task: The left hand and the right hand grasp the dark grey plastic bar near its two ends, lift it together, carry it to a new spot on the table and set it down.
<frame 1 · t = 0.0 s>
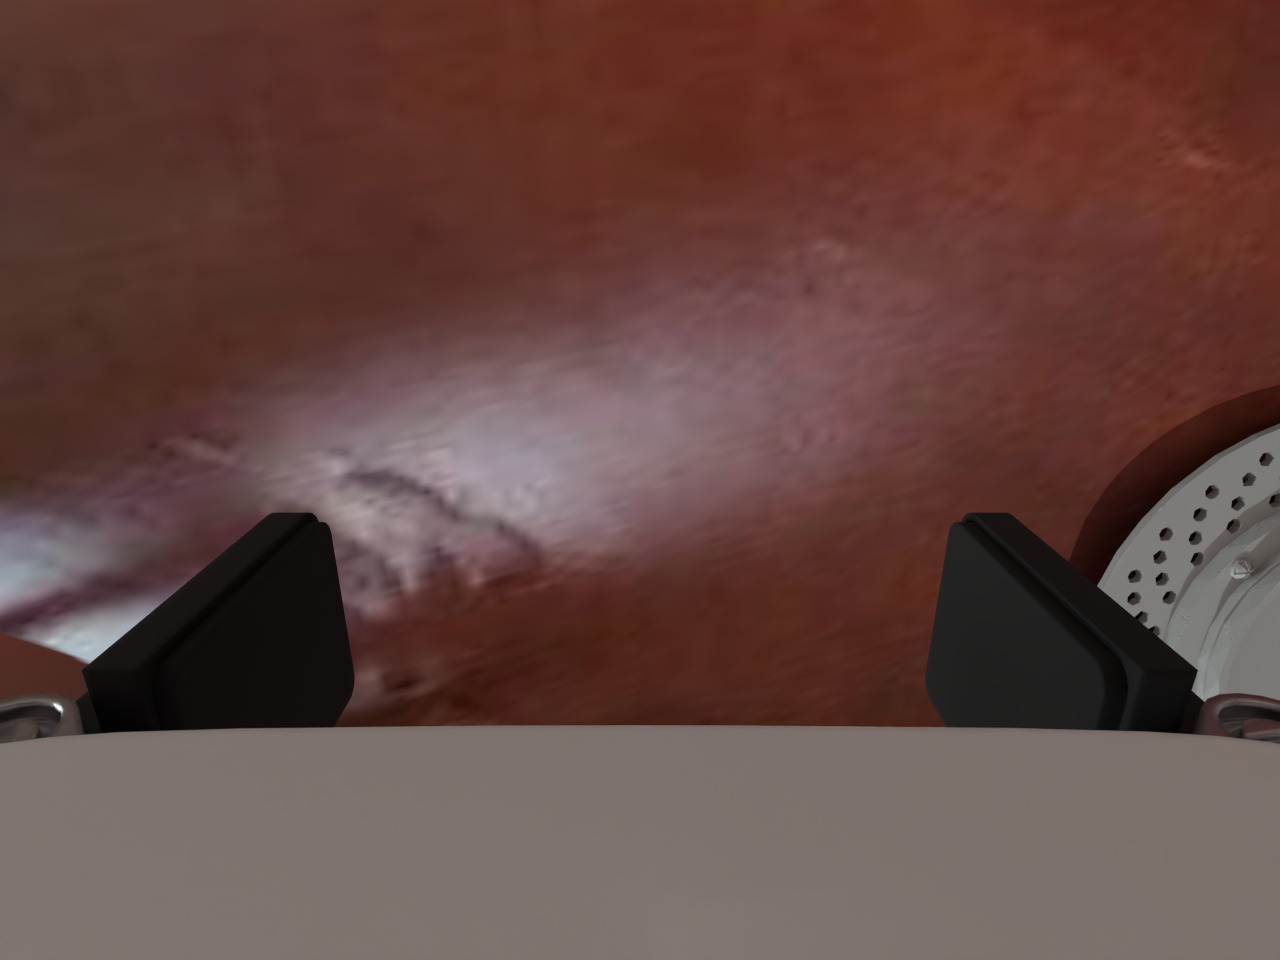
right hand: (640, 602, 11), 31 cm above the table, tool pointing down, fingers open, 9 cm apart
brake disc: (1266, 640, 48), on the table
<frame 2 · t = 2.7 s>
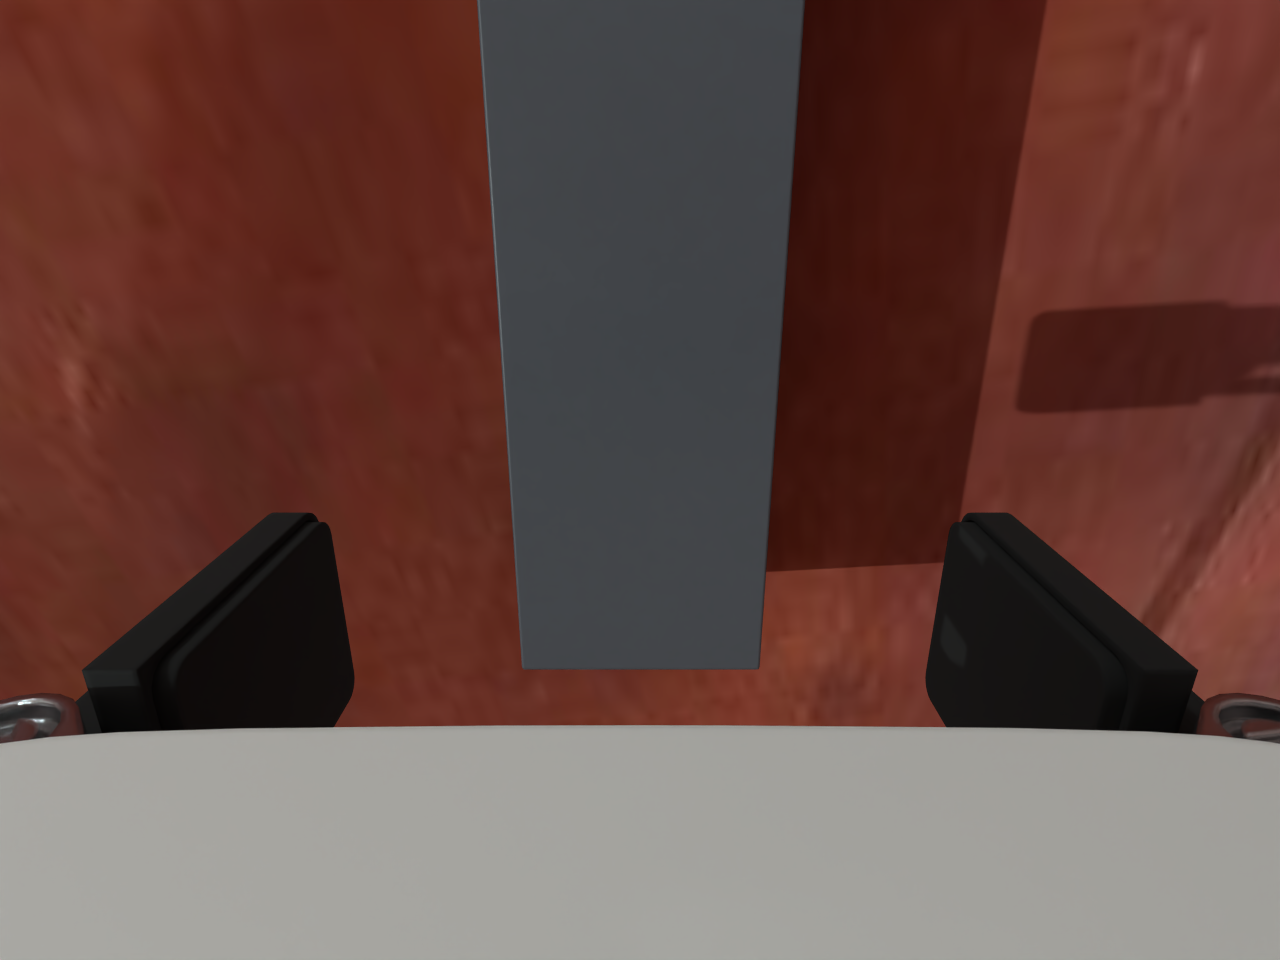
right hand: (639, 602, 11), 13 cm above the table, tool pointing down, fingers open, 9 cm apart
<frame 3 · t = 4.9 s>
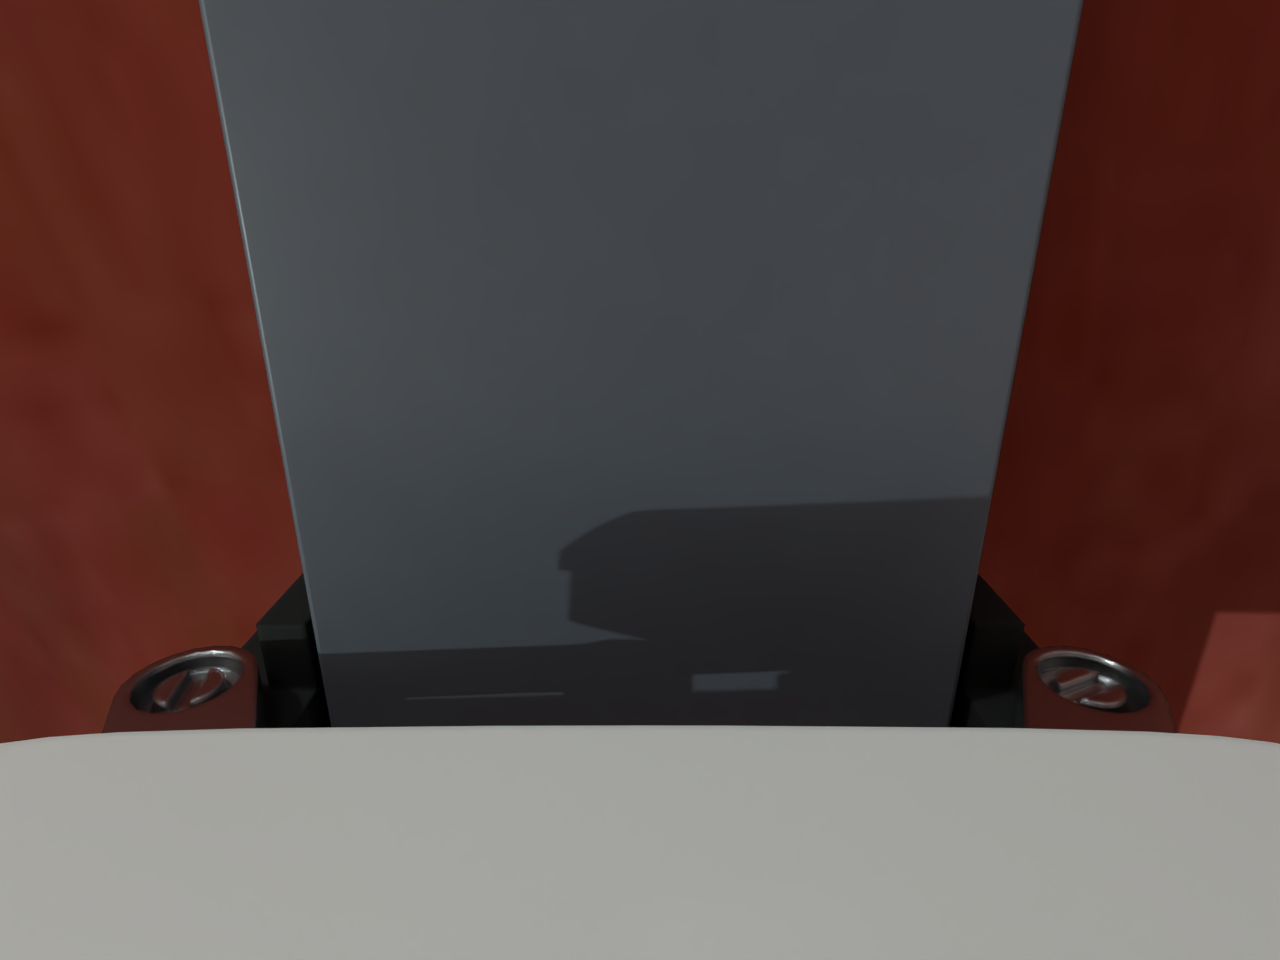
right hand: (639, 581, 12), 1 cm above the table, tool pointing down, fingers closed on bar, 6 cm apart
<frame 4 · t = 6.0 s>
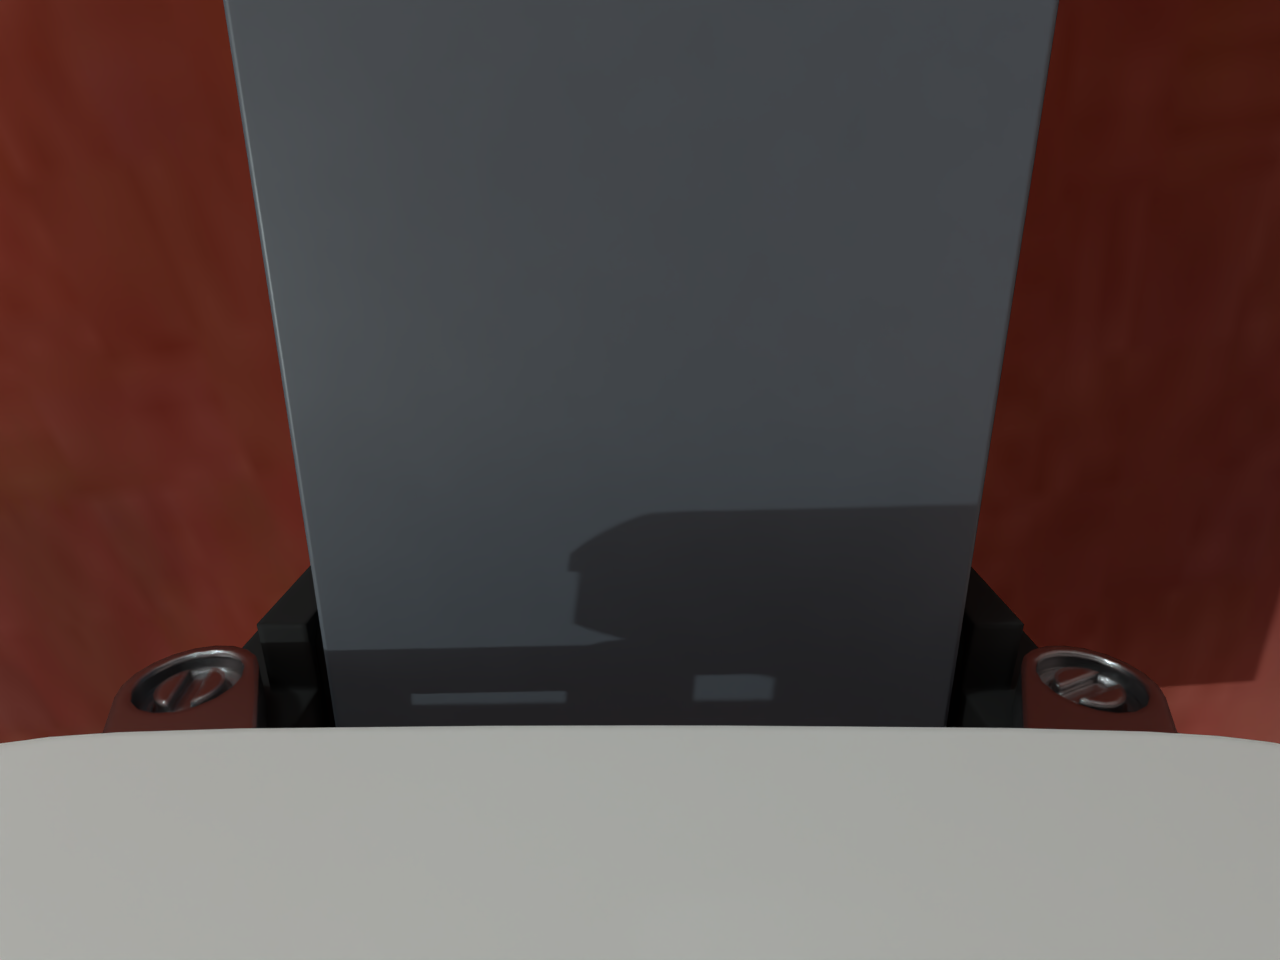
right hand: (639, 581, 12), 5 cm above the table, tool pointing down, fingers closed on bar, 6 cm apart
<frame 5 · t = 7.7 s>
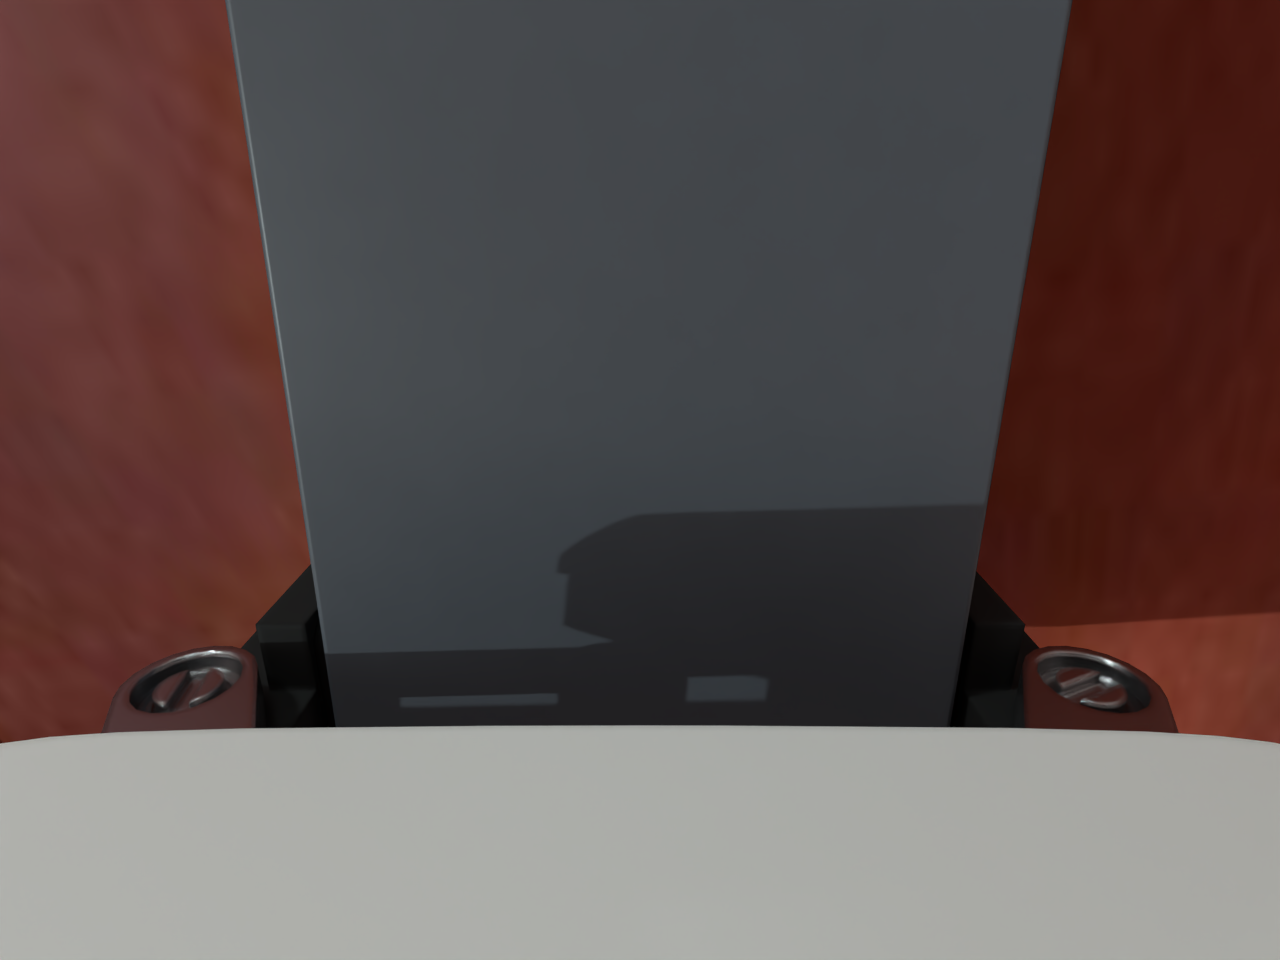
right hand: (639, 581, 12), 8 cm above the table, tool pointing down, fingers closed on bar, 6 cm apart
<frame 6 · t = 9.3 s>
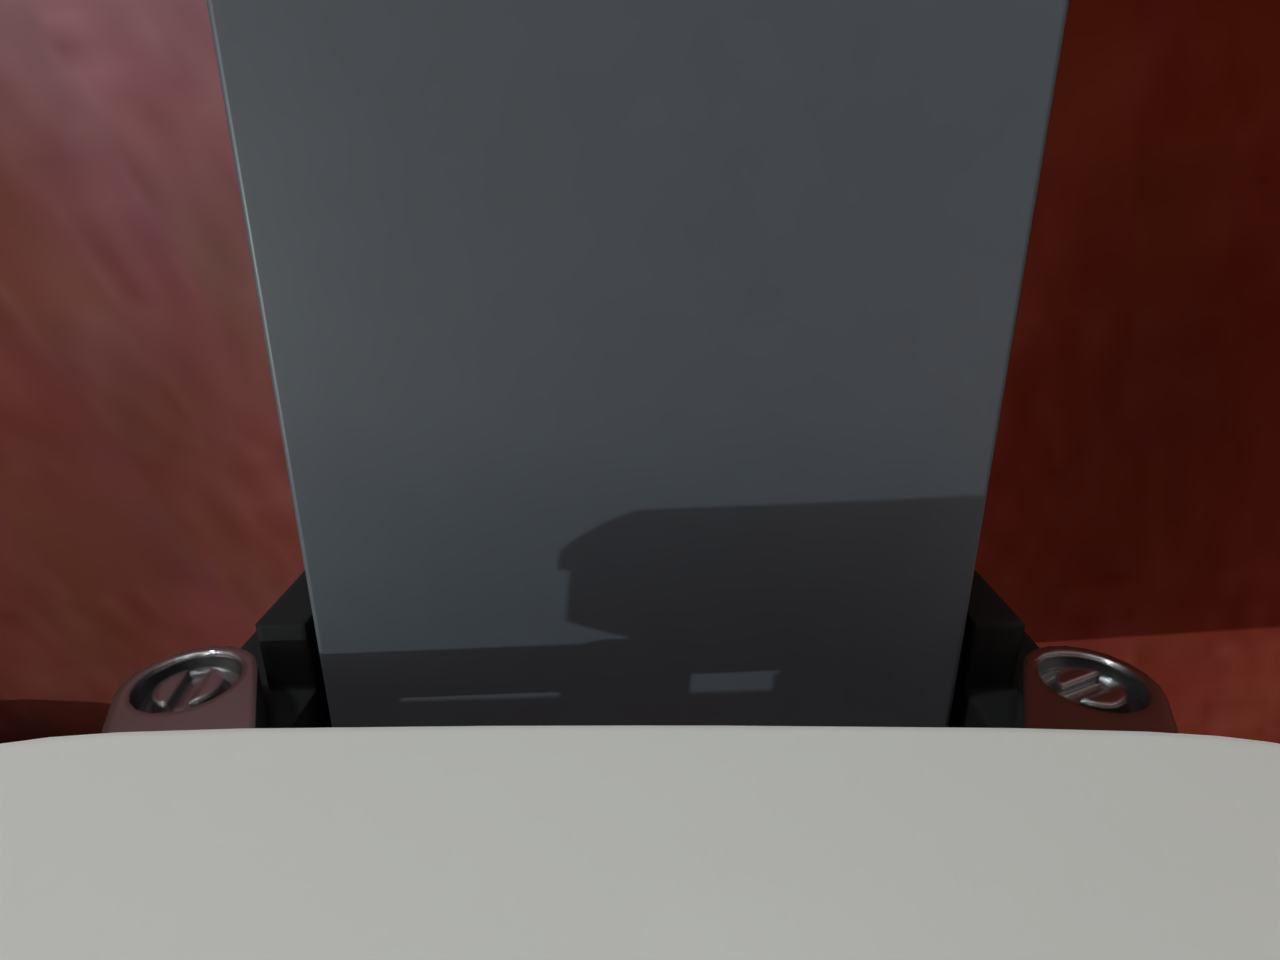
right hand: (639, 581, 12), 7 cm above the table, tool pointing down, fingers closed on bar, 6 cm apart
when the left hand's fingers open (0 cm above the table, at t = 10.2 s): bar stays where it is, on the table.
when the right hand's fingers open (2 cm above the table, at t = 10.4 s): bar stays where it is, on the table.
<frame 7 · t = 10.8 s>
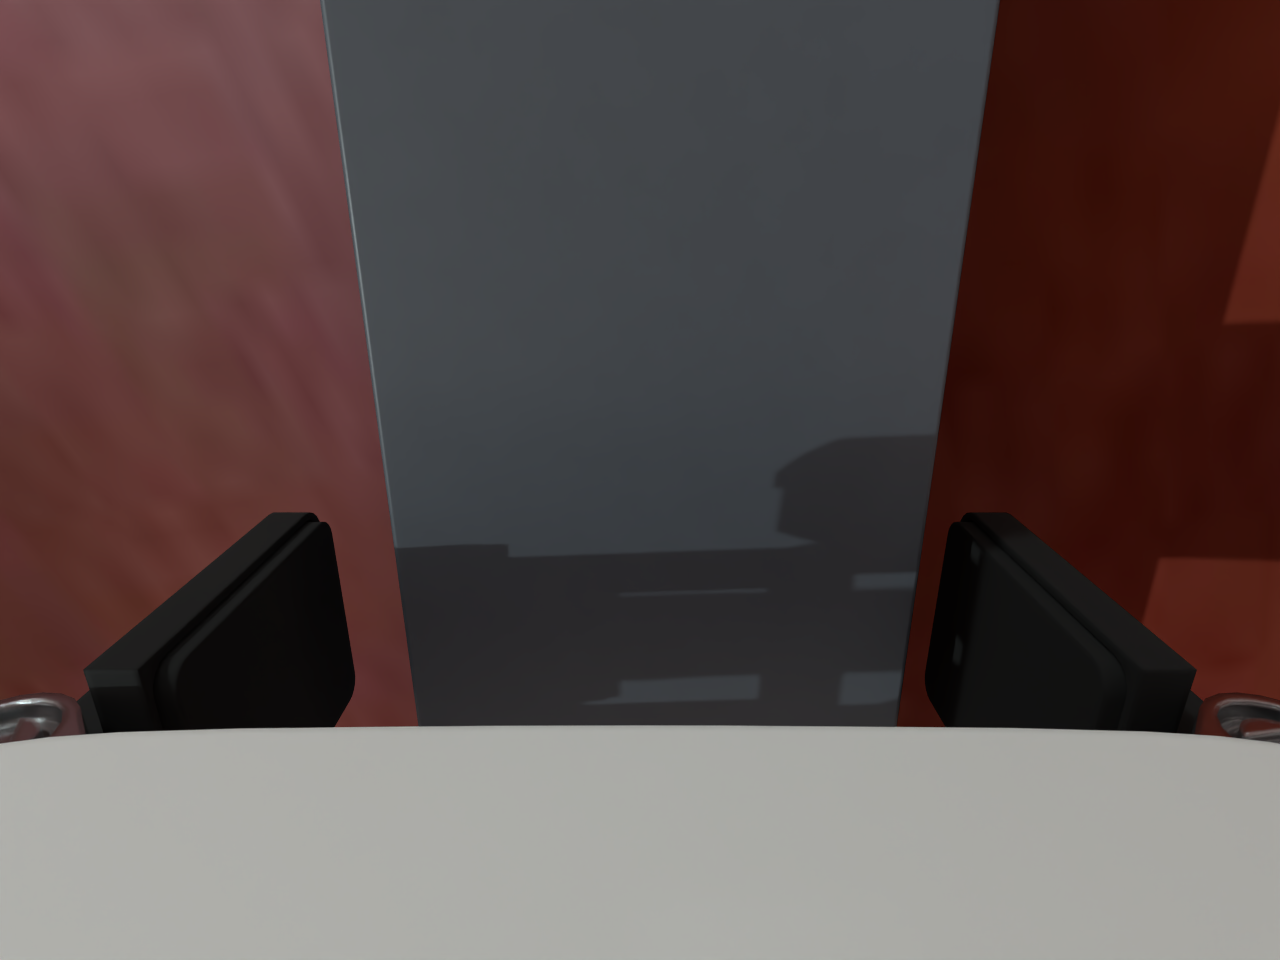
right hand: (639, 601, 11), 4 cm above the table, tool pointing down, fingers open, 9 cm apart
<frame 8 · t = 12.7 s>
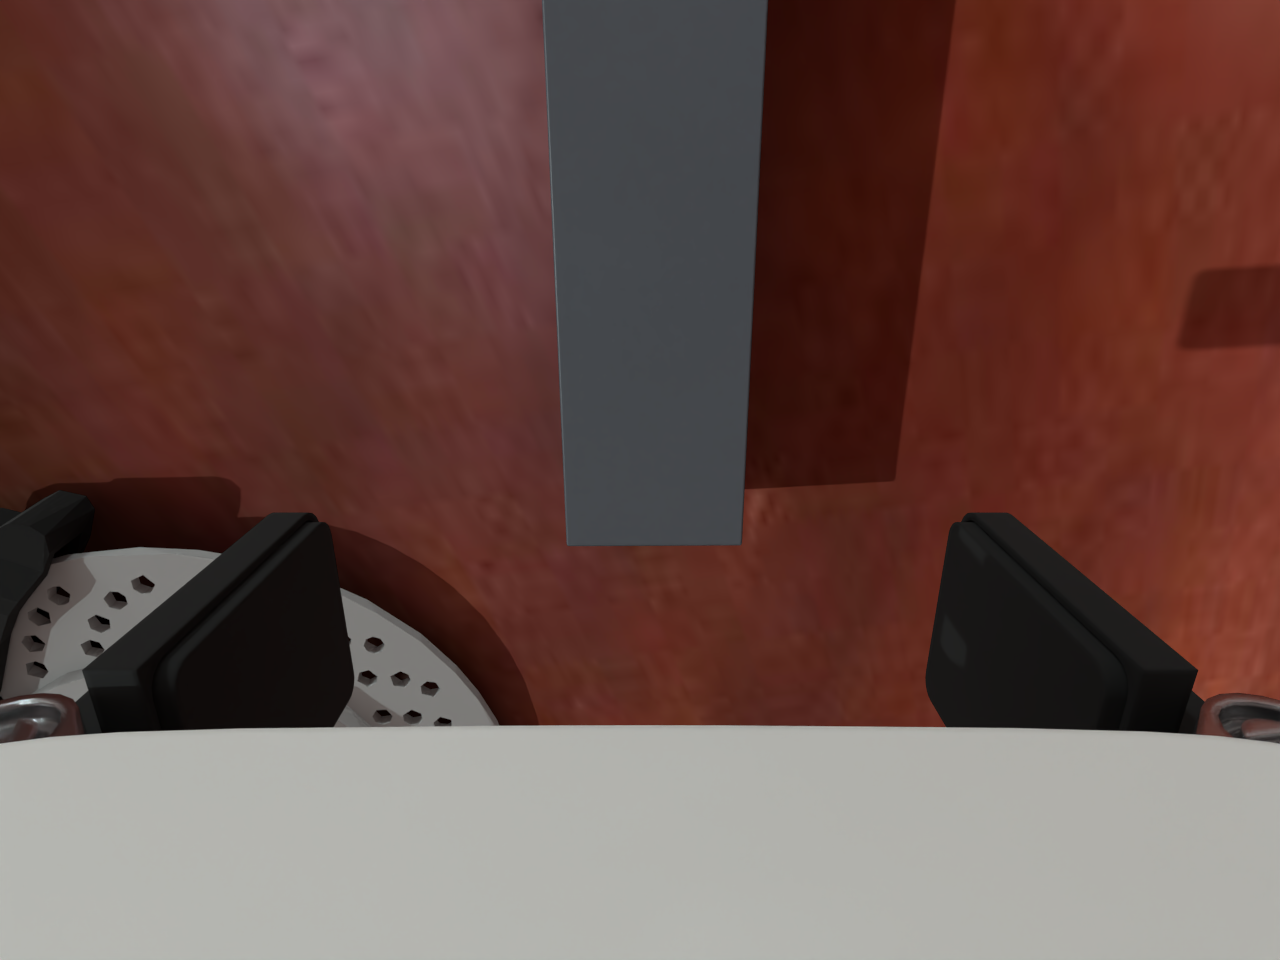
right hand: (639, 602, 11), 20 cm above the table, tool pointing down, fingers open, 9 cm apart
brake disc: (210, 776, 38), on the table
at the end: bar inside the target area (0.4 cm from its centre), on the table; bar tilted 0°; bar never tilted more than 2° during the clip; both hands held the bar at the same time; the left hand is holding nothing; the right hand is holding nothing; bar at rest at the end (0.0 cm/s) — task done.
